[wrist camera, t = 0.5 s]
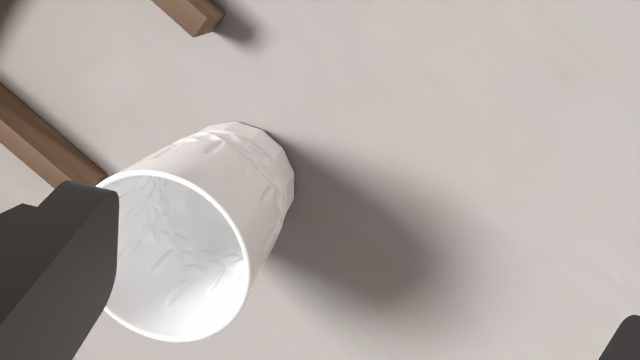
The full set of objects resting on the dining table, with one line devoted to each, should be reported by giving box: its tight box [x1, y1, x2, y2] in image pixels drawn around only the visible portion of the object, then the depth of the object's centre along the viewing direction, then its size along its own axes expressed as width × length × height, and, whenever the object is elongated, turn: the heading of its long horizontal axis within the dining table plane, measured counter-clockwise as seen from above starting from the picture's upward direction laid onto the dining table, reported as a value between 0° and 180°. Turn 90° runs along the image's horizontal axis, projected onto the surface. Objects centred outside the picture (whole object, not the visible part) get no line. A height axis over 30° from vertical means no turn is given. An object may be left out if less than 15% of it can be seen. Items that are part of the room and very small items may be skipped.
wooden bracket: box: [0, 0, 225, 189], centre depth 32 cm, size 13×12×2 cm
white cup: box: [96, 122, 294, 342], centre depth 29 cm, size 8×8×10 cm
